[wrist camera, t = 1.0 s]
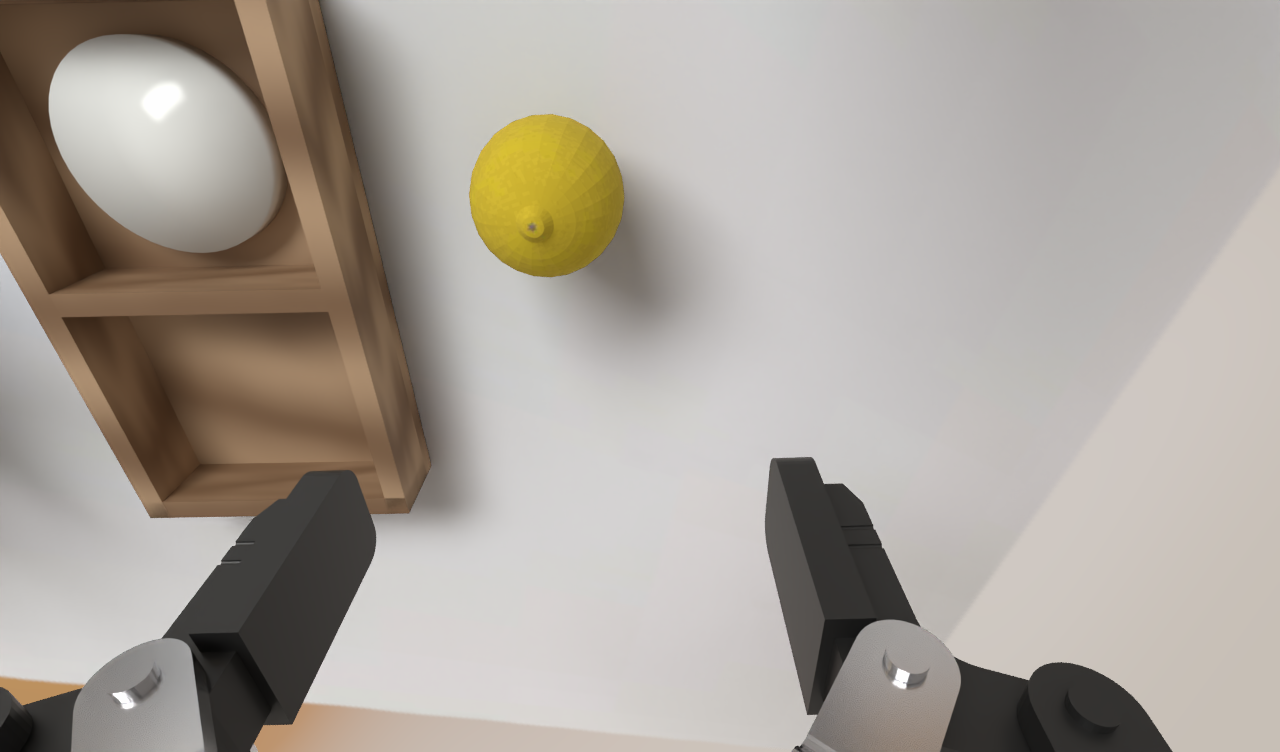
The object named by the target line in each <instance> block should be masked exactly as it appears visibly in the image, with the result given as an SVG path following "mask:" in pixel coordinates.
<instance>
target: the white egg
mask: <svg viewBox="0 0 1280 752" xmlns="http://www.w3.org/2000/svg"><path fill="white" fill-rule="evenodd" d="M49 116H50V122H51V128H52V131H53V135H54V138H55V141H56V144H57V146H58V149H59V151H60V153H61V156H62V158H63V159H64V161H65V163H66V165H67V167H68V169H69V170H70V172H71V173H72V175H73V176H74V178H75V179H76V181H77V182H78V183H79V185H80V186H81V187H82V188H83V190H84V191H85V192H86V193H87V195H88V196H89V197H90V198H91V199H92V200H93V201H94V202H95V203H96V204H97V205H98V206H99V207H100V208H101V209H102V210H103V211H105V212H106V213H107V214H108V215H109V216H110V217H111V218H113V219H114V220H116V221H117V222H118V223H120V224H121V225H122V226H124V227H125V228H127V229H129V230H130V231H132V232H133V233H135V234H137V235H139V236H141V237H143V238H145V239H147V240H149V241H151V242H153V243H156V244H159V245H161V246H164V247H167V248H171V249H175V250H179V251H185V252H193V253H209V252H217V251H222V250H226V249H229V248H231V247H234V246H236V245H239V244H240V243H242V242H244V241H246V240H248V239H249V238H251V237H253V236H255V235H256V234H258V233H260V232H261V231H262V230H264V229H265V228H266V227H267V226H268V225H269V224H270V223H271V222H272V221H273V219H274V218H275V217H276V215H277V214H278V212H279V210H280V208H281V206H282V203H283V200H284V197H285V193H286V187H287V174H286V170H285V167H284V164H283V161H282V157H281V154H280V151H279V147H278V144H277V141H276V137H275V134H274V131H273V127H272V124H271V121H270V117H269V114H268V112H267V111H266V109H265V107H264V106H263V104H262V103H261V102H260V100H259V99H258V98H257V96H256V95H255V94H254V92H253V91H252V90H251V89H250V88H249V87H248V86H247V85H246V84H245V82H244V81H243V80H242V79H241V78H240V77H239V76H237V75H236V74H235V73H234V72H233V71H232V70H231V69H230V68H228V67H227V66H226V65H224V64H223V63H222V62H220V61H219V60H218V59H216V58H215V57H213V56H211V55H210V54H208V53H206V52H205V51H203V50H201V49H199V48H197V47H195V46H193V45H190V44H188V43H186V42H183V41H180V40H177V39H174V38H171V37H166V36H161V35H156V34H114V35H104V36H100V37H96V38H93V39H89V40H87V41H85V42H83V43H81V44H79V45H78V46H76V47H75V48H74V49H73V50H71V51H70V52H69V53H68V54H67V55H66V56H65V57H64V58H63V60H62V61H61V62H60V64H59V66H58V67H57V69H56V71H55V73H54V76H53V79H52V82H51V85H50V92H49Z"/></svg>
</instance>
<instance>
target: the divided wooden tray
mask: <svg viewBox="0 0 1280 752" xmlns="http://www.w3.org/2000/svg"><path fill="white" fill-rule="evenodd" d="M114 34H156V35H161V36H166V37H171V38H174V39H177V40H180V41H183V42H186V43H188V44H190V45H193V46H195V47H197V48H199V49H201V50H203V51H205V52H206V53H208V54H210V55H211V56H213V57H215V58H216V59H218V60H219V61H220V62H222V63H223V64H224V65H226V66H227V67H228V68H230V69H231V70H232V71H233V72H234V73H235V74H236V75H237V76H239V77H240V78H241V79H242V80H243V81H244V82H245V84H246V85H247V86H248V87H249V88H250V89H251V90H252V91H253V92H254V94H255V95H256V96H257V98H258V99H259V100H260V102H261V103H262V104H263V106H264V107H265V109H266V111H267V112H268V114H269V117H270V121H271V124H272V127H273V131H274V134H275V137H276V141H277V144H278V147H279V151H280V154H281V157H282V161H283V164H284V167H285V170H286V174H287V187H286V193H285V197H284V200H283V203H282V206H281V208H280V210H279V212H278V214H277V215H276V217H275V218H274V219H273V221H272V222H271V223H270V224H269V225H268V226H267V227H266V228H265V229H264V230H262V231H261V232H260V233H258V234H256V235H255V236H253V237H251V238H249V239H248V240H246V241H244V242H242V243H240V244H239V245H236V246H234V247H231V248H229V249H226V250H222V251H217V252H209V253H193V252H185V251H179V250H175V249H171V248H167V247H164V246H161V245H159V244H156V243H153V242H151V241H149V240H147V239H145V238H143V237H141V236H139V235H137V234H135V233H133V232H132V231H130V230H129V229H127V228H125V227H124V226H122V225H121V224H120V223H118V222H117V221H116V220H114V219H113V218H111V217H110V216H109V215H108V214H107V213H106V212H105V211H103V210H102V209H101V208H100V207H99V206H98V205H97V204H96V203H95V202H94V201H93V200H92V199H91V198H90V197H89V196H88V195H87V193H86V192H85V191H84V190H83V188H82V187H81V186H80V185H79V183H78V182H77V181H76V179H75V178H74V176H73V175H72V173H71V172H70V170H69V169H68V167H67V165H66V163H65V161H64V159H63V158H62V156H61V153H60V151H59V149H58V146H57V144H56V141H55V138H54V135H53V131H52V128H51V122H50V116H49V92H50V85H51V82H52V79H53V76H54V73H55V71H56V69H57V67H58V66H59V64H60V62H61V61H62V60H63V58H64V57H65V56H66V55H67V54H68V53H69V52H70V51H71V50H73V49H74V48H75V47H76V46H78V45H79V44H81V43H83V42H85V41H87V40H89V39H93V38H96V37H100V36H104V35H114ZM0 253H1V255H2V257H3V259H4V260H5V262H6V264H7V266H8V268H9V269H10V271H11V273H12V275H13V276H14V278H15V280H16V282H17V283H18V285H19V287H20V289H21V290H22V292H23V294H24V296H25V297H26V299H27V301H28V303H29V305H30V306H31V308H32V310H33V312H34V313H35V315H36V317H37V319H38V320H39V322H40V324H41V326H42V327H43V329H44V331H45V333H46V334H47V336H48V338H49V340H50V342H51V343H52V345H53V347H54V349H55V350H56V352H57V354H58V356H59V357H60V359H61V361H62V363H63V364H64V366H65V368H66V370H67V371H68V373H69V375H70V377H71V379H72V380H73V382H74V384H75V386H76V387H77V389H78V391H79V393H80V394H81V396H82V398H83V400H84V401H85V403H86V405H87V407H88V408H89V410H90V412H91V414H92V416H93V417H94V419H95V421H96V423H97V424H98V426H99V428H100V430H101V431H102V433H103V435H104V437H105V438H106V440H107V442H108V444H109V445H110V447H111V449H112V451H113V453H114V454H115V456H116V458H117V460H118V461H119V463H120V465H121V467H122V468H123V470H124V472H125V474H126V475H127V477H128V479H129V481H130V482H131V484H132V486H133V488H134V490H135V491H136V493H137V495H138V497H139V498H140V500H141V502H142V504H143V505H144V507H145V509H146V511H147V512H148V514H149V516H150V518H175V517H231V516H257V515H259V514H260V513H261V512H263V511H264V510H265V509H266V508H268V507H269V506H270V505H272V504H273V503H274V502H275V501H277V500H278V499H286V498H287V497H288V495H289V494H290V493H291V491H292V490H293V489H294V487H295V486H296V484H297V483H298V482H299V480H300V479H301V478H302V476H303V475H304V474H305V473H307V472H309V471H330V470H351V471H352V472H353V473H354V474H355V475H356V477H357V479H358V482H359V485H360V488H361V490H362V493H363V496H364V499H365V501H366V504H367V507H368V510H369V513H370V514H397V513H409V512H410V510H411V508H412V506H413V504H414V502H415V500H416V497H417V495H418V493H419V491H420V489H421V487H422V485H423V482H424V480H425V478H426V476H427V474H428V472H429V470H430V467H431V462H430V458H429V454H428V450H427V445H426V441H425V437H424V433H423V429H422V425H421V421H420V417H419V413H418V408H417V404H416V400H415V396H414V392H413V388H412V384H411V380H410V375H409V371H408V367H407V363H406V359H405V355H404V351H403V347H402V343H401V338H400V334H399V330H398V326H397V322H396V318H395V314H394V310H393V305H392V301H391V297H390V293H389V289H388V285H387V281H386V277H385V272H384V268H383V264H382V260H381V256H380V252H379V248H378V244H377V240H376V235H375V231H374V227H373V223H372V219H371V215H370V211H369V207H368V202H367V198H366V194H365V190H364V186H363V182H362V178H361V174H360V170H359V165H358V161H357V157H356V153H355V149H354V145H353V141H352V137H351V132H350V128H349V124H348V120H347V116H346V112H345V108H344V104H343V99H342V95H341V91H340V87H339V83H338V79H337V75H336V71H335V67H334V62H333V58H332V54H331V50H330V46H329V42H328V38H327V34H326V29H325V25H324V21H323V17H322V13H321V9H320V5H319V1H318V0H0Z"/></svg>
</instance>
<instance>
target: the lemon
mask: <svg viewBox="0 0 1280 752" xmlns="http://www.w3.org/2000/svg"><path fill="white" fill-rule="evenodd" d="M469 198H470V206H471V214H472V218H473V220H474V223H475V226H476V228H477V231H478V234H479V236H480V237H481V239H482V240H483V242H484V243H485V245H486V246H487V248H488V249H489V250H490V251H491V252H492V253H493V254H494V255H495V256H496V257H497V258H498V259H500V260H501V261H502V262H503V263H505V264H507V265H508V266H510V267H512V268H513V269H515V270H517V271H520V272H523V273H526V274H529V275H532V276H540V277H555V276H561V275H567V274H570V273H572V272H574V271H577V270H579V269H581V268H584V267H585V266H587V265H588V264H589V263H591V262H592V261H593V260H594V259H596V258H597V257H598V256H599V255H601V254H602V252H603V251H604V250H605V248H606V247H607V246H608V244H609V243H610V242H611V240H612V239H613V237H614V236H615V233H616V231H617V228H618V226H619V223H620V221H621V218H622V212H623V204H624V190H623V181H622V175H621V173H620V170H619V167H618V165H617V162H616V159H615V157H614V155H613V154H612V152H611V151H610V150H609V148H608V147H607V145H606V144H605V142H604V141H603V140H602V139H601V138H600V137H599V136H598V135H596V134H595V133H594V132H593V131H592V130H591V129H590V128H588V127H586V126H584V125H583V124H581V123H579V122H577V121H575V120H573V119H571V118H566V117H562V116H558V115H553V114H548V115H531V116H528V117H525V118H522V119H519V120H516V121H513V122H512V123H510V124H509V125H507V126H506V127H504V128H503V129H501V130H500V131H499V132H497V133H496V134H495V135H494V136H493V137H492V138H491V140H490V141H489V142H488V143H487V145H486V146H485V147H484V148H483V150H482V151H481V153H480V155H479V157H478V160H477V162H476V164H475V167H474V169H473V172H472V177H471V185H470V192H469Z"/></svg>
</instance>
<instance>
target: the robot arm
mask: <svg viewBox="0 0 1280 752" xmlns="http://www.w3.org/2000/svg"><path fill="white" fill-rule="evenodd" d="M765 534H766V543H767V549H768V554H769V558H770V562H771V566H772V570H773V575H774V579H775V583H776V587H777V591H778V595H779V599H780V604H781V608H782V612H783V616H784V620H785V624H786V628H787V633H788V637H789V641H790V645H791V649H792V653H793V657H794V662H795V666H796V670H797V674H798V678H799V682H800V686H801V691H802V695H803V699H804V703H805V707H806V711H807V715H817V717H816V719H815V721H814V723H813V725H812V727H811V729H810V731H809V733H808V735H807V737H806V739H805V740H804V742H803V744H802V745H801V746H800V747H799V746H796V747H795V748H794V749H793V750H792V752H1172V750H1171V749H1170V747H1169V746H1168V744H1167V743H1166V741H1165V740H1164V738H1163V737H1162V735H1161V734H1160V732H1159V731H1158V729H1157V728H1156V726H1155V725H1154V723H1153V722H1152V720H1151V719H1150V717H1149V716H1148V714H1147V713H1146V712H1145V710H1144V709H1143V708H1142V706H1141V705H1140V704H1139V703H1138V702H1137V701H1136V700H1135V699H1134V697H1133V696H1131V695H1130V694H1129V693H1128V692H1127V691H1126V690H1125V689H1124V688H1122V687H1121V686H1120V685H1118V684H1117V683H1115V682H1114V681H1113V680H1111V679H1109V678H1107V677H1106V676H1104V675H1102V674H1100V673H1098V672H1096V671H1094V670H1092V669H1089V668H1086V667H1083V666H1080V665H1075V664H1071V663H1062V662H1061V663H1050V664H1046V665H1043V666H1042V667H1039V668H1038V669H1037V670H1036V671H1035V672H1034V673H1033V674H1032V676H1031V678H1030V680H1025V679H1022V678H1018V677H1014V676H1010V675H1006V674H1002V673H999V672H995V671H991V670H987V669H984V668H980V667H977V666H974V665H971V664H968V663H966V662H964V661H961V660H959V659H957V658H955V657H954V656H953V655H952V653H951V652H950V651H949V649H948V648H947V647H946V646H945V645H944V644H943V643H942V642H941V641H940V640H939V639H938V638H937V637H935V636H934V635H933V634H931V633H930V632H928V631H927V630H925V629H923V628H921V627H920V625H919V623H918V621H917V619H916V617H915V615H914V613H913V611H912V609H911V607H910V604H909V602H908V600H907V598H906V596H905V593H904V591H903V589H902V587H901V585H900V583H899V580H898V578H897V576H896V574H895V572H894V570H893V567H892V565H891V563H890V561H889V559H888V556H887V554H886V552H885V550H884V548H883V549H882V543H881V541H880V539H879V537H878V535H877V533H876V530H874V529H873V524H872V522H871V519H870V517H869V515H868V513H867V511H866V509H865V506H864V504H863V502H862V501H861V500H859V499H858V498H857V497H856V496H855V495H854V494H853V493H852V492H851V491H850V490H849V489H848V488H847V487H846V486H845V485H844V484H824V483H823V481H822V478H821V476H820V473H819V471H818V468H817V465H816V463H815V461H814V459H813V458H812V457H799V458H773V459H772V460H771V464H770V471H769V482H768V493H767V503H766V514H765ZM375 547H376V531H375V527H374V524H373V521H372V518H371V515H370V513H369V510H368V507H367V504H366V501H365V499H364V496H363V493H362V490H361V488H360V485H359V482H358V479H357V477H356V475H355V474H354V473H353V472H352V471H351V470H330V471H309V472H307V473H305V474H304V475H303V476H302V478H301V479H300V480H299V482H298V483H297V484H296V486H295V487H294V489H293V490H292V491H291V493H290V494H289V495H288V497H287V498H286V499H278V500H277V501H275V502H274V503H273V504H272V505H270V506H269V507H268V508H266V509H265V510H264V511H263V512H261V513H260V514H259V515H257V516H256V517H255V518H253V519H252V521H251V522H250V523H249V525H248V526H247V527H246V529H245V530H244V531H243V533H242V534H241V535H240V537H239V538H238V539H237V540H236V545H235V546H232V547H231V548H230V550H229V551H228V552H227V554H226V555H225V556H224V557H223V559H222V560H221V561H222V563H221V565H217V567H216V568H215V569H214V571H213V572H212V573H211V575H210V576H209V577H208V578H207V580H206V581H205V582H204V584H203V585H202V586H201V588H200V589H199V590H198V592H197V593H196V594H195V596H194V597H193V598H192V599H191V601H190V602H189V603H188V605H187V606H186V607H185V609H184V610H183V611H182V613H181V614H180V615H179V616H178V618H177V619H176V620H175V622H174V623H173V624H172V626H171V627H170V628H169V630H168V631H167V632H166V634H165V635H164V636H163V637H162V638H161V639H157V640H152V641H149V642H146V643H143V644H140V645H138V646H135V647H133V648H131V649H129V650H127V651H125V652H123V653H122V654H120V655H119V656H117V657H115V658H114V659H112V660H111V661H110V662H108V663H107V664H106V665H104V666H103V667H102V668H101V669H100V670H99V671H97V672H96V673H95V674H94V675H93V676H92V677H91V679H90V680H89V681H88V682H87V683H86V685H85V686H84V687H83V688H81V689H77V690H74V691H71V692H67V693H64V694H60V695H57V696H54V697H50V698H47V699H43V700H40V701H36V702H33V703H30V704H26V705H23V706H22V705H21V704H20V703H19V702H18V701H17V700H16V699H15V697H14V696H13V695H12V694H11V693H10V692H9V691H8V690H6V689H4V688H2V687H0V752H258V750H257V748H256V747H255V745H254V742H255V740H256V738H257V736H258V734H259V732H260V730H261V728H262V727H263V725H285V724H286V725H287V724H288V725H289V724H293V722H294V720H295V718H296V715H297V713H298V711H299V709H300V707H301V705H302V703H303V701H304V699H305V697H306V695H307V693H308V691H309V689H310V687H311V685H312V683H313V681H314V679H315V677H316V674H317V672H318V670H319V668H320V666H321V664H322V662H323V660H324V658H325V656H326V654H327V652H328V650H329V648H330V646H331V644H332V642H333V640H334V637H335V635H336V633H337V631H338V629H339V627H340V625H341V623H342V621H343V619H344V617H345V615H346V613H347V611H348V609H349V607H350V605H351V603H352V601H353V598H354V596H355V594H356V592H357V590H358V588H359V586H360V584H361V582H362V580H363V578H364V576H365V574H366V572H367V570H368V568H369V566H370V564H371V561H372V559H373V556H374V552H375Z"/></svg>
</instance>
